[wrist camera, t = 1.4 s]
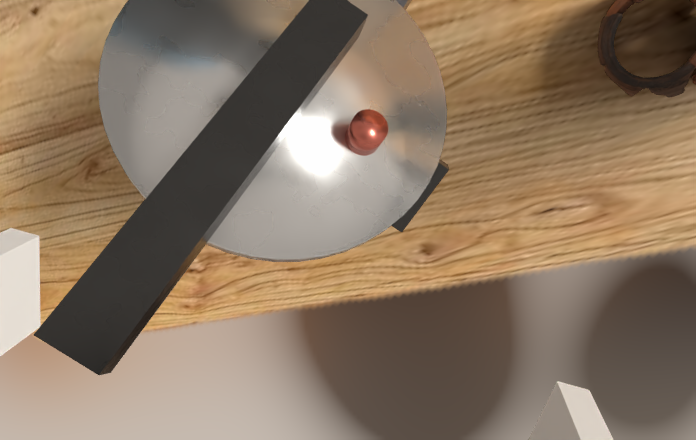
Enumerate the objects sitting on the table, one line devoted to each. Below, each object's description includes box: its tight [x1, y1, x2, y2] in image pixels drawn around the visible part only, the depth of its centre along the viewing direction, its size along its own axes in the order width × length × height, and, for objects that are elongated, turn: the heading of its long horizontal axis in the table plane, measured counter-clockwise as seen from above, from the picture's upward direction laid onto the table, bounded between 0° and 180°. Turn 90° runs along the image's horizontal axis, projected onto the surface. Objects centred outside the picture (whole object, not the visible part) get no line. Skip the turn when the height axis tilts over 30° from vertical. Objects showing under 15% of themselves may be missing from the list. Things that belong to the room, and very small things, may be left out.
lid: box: [34, 0, 447, 375], centre depth 25 cm, size 19×26×3 cm
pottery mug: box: [598, 0, 696, 97], centre depth 37 cm, size 12×10×8 cm
